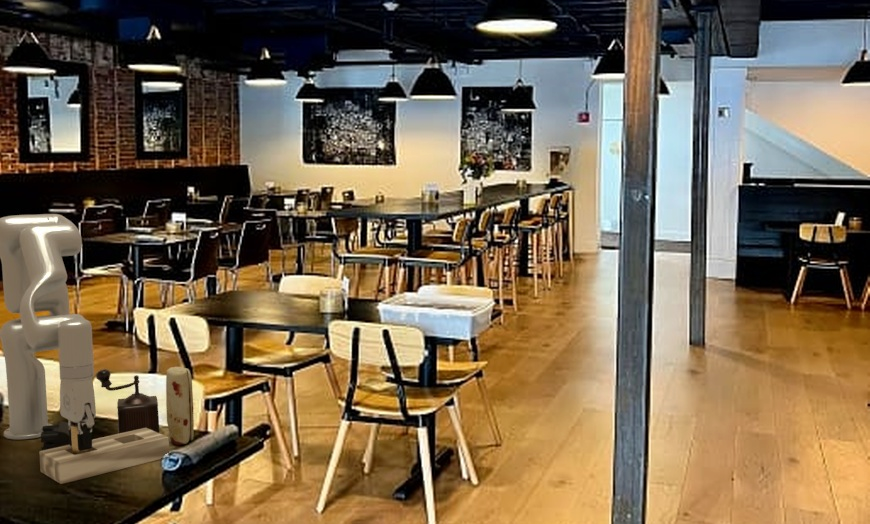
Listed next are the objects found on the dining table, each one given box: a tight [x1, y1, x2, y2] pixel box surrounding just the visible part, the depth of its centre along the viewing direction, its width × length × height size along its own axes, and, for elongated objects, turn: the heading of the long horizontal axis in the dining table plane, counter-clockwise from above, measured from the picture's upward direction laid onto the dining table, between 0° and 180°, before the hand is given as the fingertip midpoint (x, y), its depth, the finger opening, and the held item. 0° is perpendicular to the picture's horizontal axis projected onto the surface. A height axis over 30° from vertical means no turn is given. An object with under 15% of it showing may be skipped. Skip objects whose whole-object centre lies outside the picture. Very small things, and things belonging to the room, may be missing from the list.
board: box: [38, 428, 170, 485], centre depth 223 cm, size 12×27×5 cm, turn 134°
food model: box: [165, 366, 195, 446], centre depth 239 cm, size 10×7×20 cm
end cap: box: [40, 421, 71, 451], centre depth 233 cm, size 10×7×7 cm
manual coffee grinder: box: [95, 368, 160, 434], centre depth 245 cm, size 16×11×18 cm
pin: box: [71, 423, 90, 455], centre depth 219 cm, size 4×4×11 cm
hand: (81, 446), depth 219 cm, fingers closed on pin, 4 cm apart
